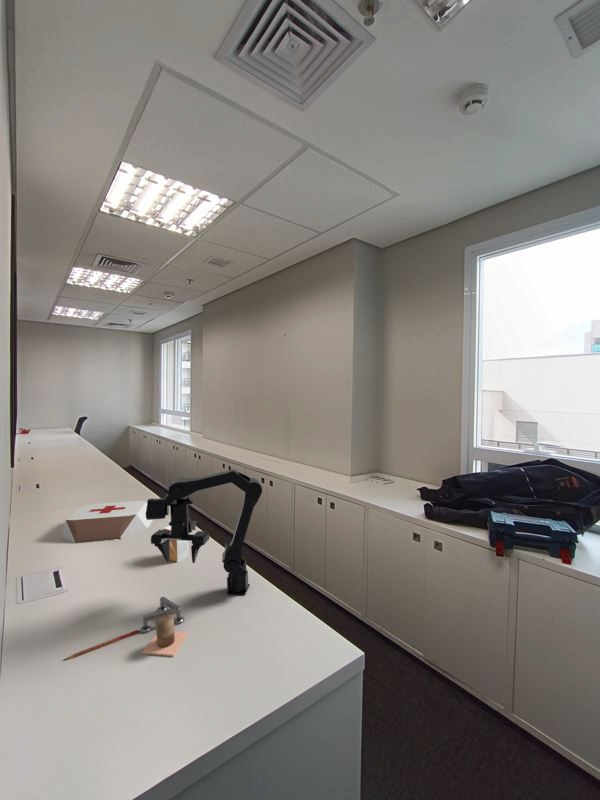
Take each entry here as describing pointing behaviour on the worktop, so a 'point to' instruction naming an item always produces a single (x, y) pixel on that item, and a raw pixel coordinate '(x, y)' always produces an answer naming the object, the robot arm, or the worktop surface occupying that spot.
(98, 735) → the worktop surface
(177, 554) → the small box
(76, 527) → the first aid kit
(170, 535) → the robot arm
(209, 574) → the worktop surface
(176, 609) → the dark grey bent piece
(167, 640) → the wooden dowel cylinder
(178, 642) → the terracotta mat
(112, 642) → the pencil
